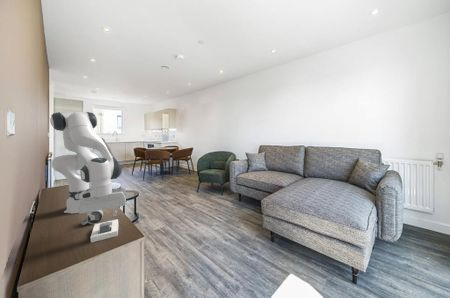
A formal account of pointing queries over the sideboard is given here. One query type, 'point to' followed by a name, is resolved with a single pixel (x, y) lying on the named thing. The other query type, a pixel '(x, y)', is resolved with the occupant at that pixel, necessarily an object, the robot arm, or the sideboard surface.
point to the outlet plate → (113, 232)
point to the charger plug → (104, 227)
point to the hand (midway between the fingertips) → (104, 217)
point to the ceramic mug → (98, 218)
